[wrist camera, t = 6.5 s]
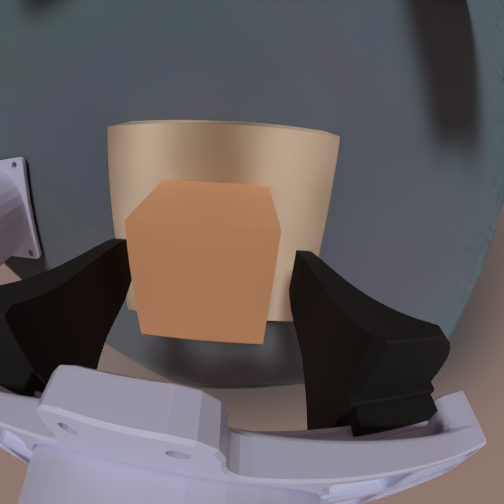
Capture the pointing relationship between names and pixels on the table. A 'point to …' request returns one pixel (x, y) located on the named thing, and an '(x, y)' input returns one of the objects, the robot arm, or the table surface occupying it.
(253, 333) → the orange cube
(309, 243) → the birch block
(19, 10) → the table surface
